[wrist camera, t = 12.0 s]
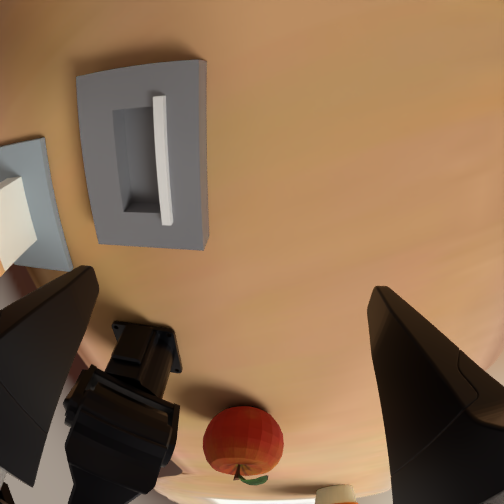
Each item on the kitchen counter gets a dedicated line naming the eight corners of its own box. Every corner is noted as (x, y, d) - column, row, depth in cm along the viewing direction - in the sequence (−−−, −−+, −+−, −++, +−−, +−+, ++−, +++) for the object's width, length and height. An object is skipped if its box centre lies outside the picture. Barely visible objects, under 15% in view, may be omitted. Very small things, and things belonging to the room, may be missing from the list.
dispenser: (209, 235, 22) (202, 254, 20) (110, 230, 23) (95, 247, 20) (206, 61, 16) (196, 59, 14) (92, 74, 16) (71, 77, 14)
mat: (73, 268, 25) (70, 271, 24) (17, 261, 25) (14, 264, 25) (44, 137, 19) (39, 139, 18) (-13, 149, 19) (-17, 151, 18)
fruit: (192, 401, 35) (177, 473, 26) (262, 388, 32) (256, 471, 23) (233, 433, 39) (225, 495, 30) (295, 422, 36) (295, 491, 27)
